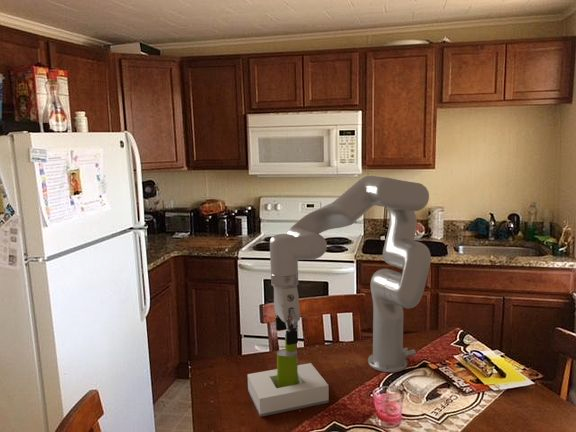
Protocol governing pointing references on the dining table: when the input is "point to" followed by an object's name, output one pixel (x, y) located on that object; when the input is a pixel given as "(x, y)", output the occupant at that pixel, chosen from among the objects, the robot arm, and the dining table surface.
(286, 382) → the vape
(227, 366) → the dining table surface
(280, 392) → the charging dock
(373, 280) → the robot arm
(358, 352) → the dining table surface
